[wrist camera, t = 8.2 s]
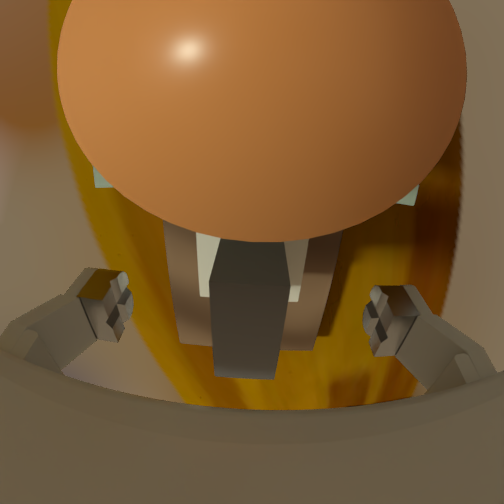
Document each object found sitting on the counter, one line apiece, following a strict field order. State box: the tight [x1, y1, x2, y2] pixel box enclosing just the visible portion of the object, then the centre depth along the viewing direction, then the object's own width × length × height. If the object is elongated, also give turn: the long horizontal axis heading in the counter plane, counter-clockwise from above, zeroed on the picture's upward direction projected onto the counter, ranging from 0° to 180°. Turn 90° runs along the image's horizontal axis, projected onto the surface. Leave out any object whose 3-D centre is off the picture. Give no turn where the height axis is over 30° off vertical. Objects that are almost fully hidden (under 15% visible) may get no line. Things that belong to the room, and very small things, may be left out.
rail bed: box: [93, 166, 419, 350], centre depth 12 cm, size 20×10×8 cm, turn 177°
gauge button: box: [57, 0, 467, 242], centre depth 4 cm, size 5×5×4 cm
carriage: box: [196, 232, 309, 379], centre depth 11 cm, size 6×5×8 cm
